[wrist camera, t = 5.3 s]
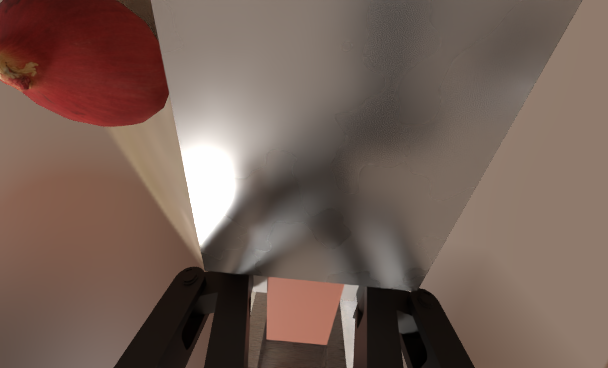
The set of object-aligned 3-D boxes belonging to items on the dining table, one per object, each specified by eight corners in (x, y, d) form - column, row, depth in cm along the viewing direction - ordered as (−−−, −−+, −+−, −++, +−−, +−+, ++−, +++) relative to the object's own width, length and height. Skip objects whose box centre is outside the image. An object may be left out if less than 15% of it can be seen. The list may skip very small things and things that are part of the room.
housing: (260, 15, 12) (132, -86, 4) (401, 30, 12) (600, -32, 4) (261, 161, 17) (204, 270, 8) (364, 171, 17) (416, 291, 8)
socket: (261, 269, 23) (230, 396, 14) (337, 276, 23) (350, 407, 14) (261, 295, 25) (234, 418, 17) (330, 302, 25) (338, 428, 17)
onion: (110, 96, 15) (-67, 130, 8) (91, -10, 12) (-208, -103, 5) (196, 119, 15) (100, 169, 9) (197, 22, 13) (55, -22, 6)
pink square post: (288, 6, 9) (271, -27, 5) (385, 17, 9) (430, -9, 6) (275, 285, 18) (266, 339, 14) (324, 289, 18) (326, 345, 14)
